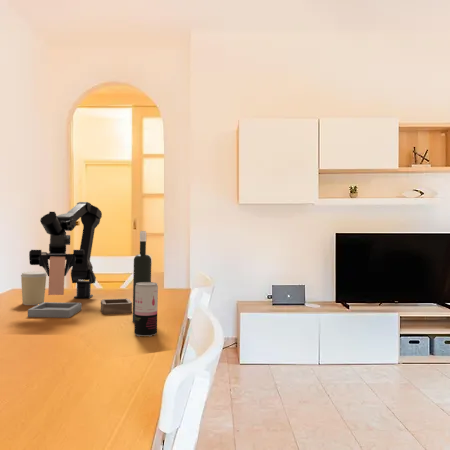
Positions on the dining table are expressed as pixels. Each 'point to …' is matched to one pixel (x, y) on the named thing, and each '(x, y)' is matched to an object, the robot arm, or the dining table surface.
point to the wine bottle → (141, 267)
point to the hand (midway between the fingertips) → (56, 275)
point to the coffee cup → (33, 287)
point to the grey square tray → (54, 309)
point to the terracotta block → (56, 275)
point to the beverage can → (146, 308)
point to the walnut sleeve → (116, 306)
